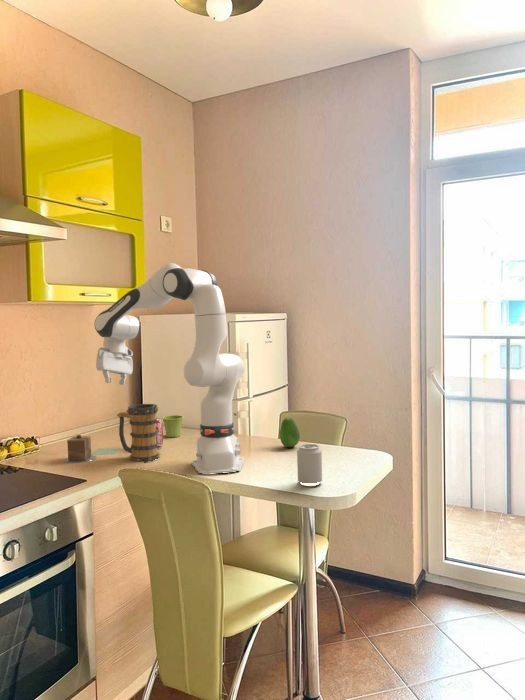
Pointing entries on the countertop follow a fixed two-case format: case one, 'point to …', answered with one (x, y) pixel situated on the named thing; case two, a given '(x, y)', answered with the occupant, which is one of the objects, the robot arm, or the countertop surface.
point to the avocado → (289, 433)
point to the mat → (106, 451)
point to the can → (309, 463)
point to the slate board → (80, 461)
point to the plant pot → (173, 425)
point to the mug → (141, 432)
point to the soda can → (159, 433)
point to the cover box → (79, 448)
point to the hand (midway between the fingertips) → (115, 383)
